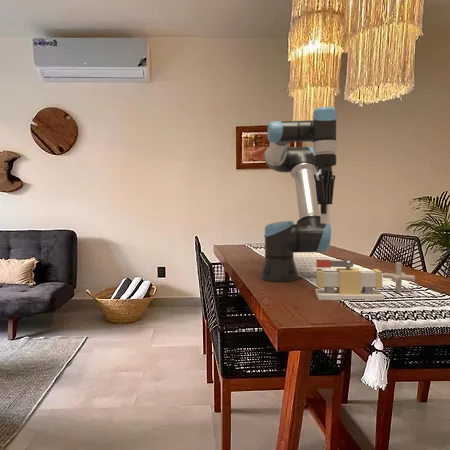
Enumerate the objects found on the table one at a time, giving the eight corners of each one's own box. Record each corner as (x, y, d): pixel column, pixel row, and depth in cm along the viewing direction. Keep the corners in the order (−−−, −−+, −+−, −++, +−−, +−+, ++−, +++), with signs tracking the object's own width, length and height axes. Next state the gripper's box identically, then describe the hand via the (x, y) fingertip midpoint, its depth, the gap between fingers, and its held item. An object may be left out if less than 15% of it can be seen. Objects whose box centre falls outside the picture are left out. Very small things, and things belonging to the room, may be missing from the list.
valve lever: (317, 267, 123) (316, 260, 122) (316, 266, 125) (316, 259, 125) (353, 267, 121) (353, 261, 120) (352, 266, 124) (352, 259, 123)
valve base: (315, 293, 129) (315, 265, 128) (376, 293, 126) (376, 265, 125) (318, 299, 120) (318, 269, 119) (384, 300, 117) (384, 270, 117)
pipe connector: (387, 287, 135) (387, 259, 135) (418, 290, 129) (418, 261, 128) (378, 292, 128) (378, 263, 127) (410, 296, 121) (410, 265, 121)
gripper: (322, 156, 136) (322, 221, 137) (306, 153, 126) (306, 224, 127) (342, 154, 131) (342, 222, 133) (327, 151, 121) (327, 224, 123)
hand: (325, 223), depth 130 cm, fingers closed
